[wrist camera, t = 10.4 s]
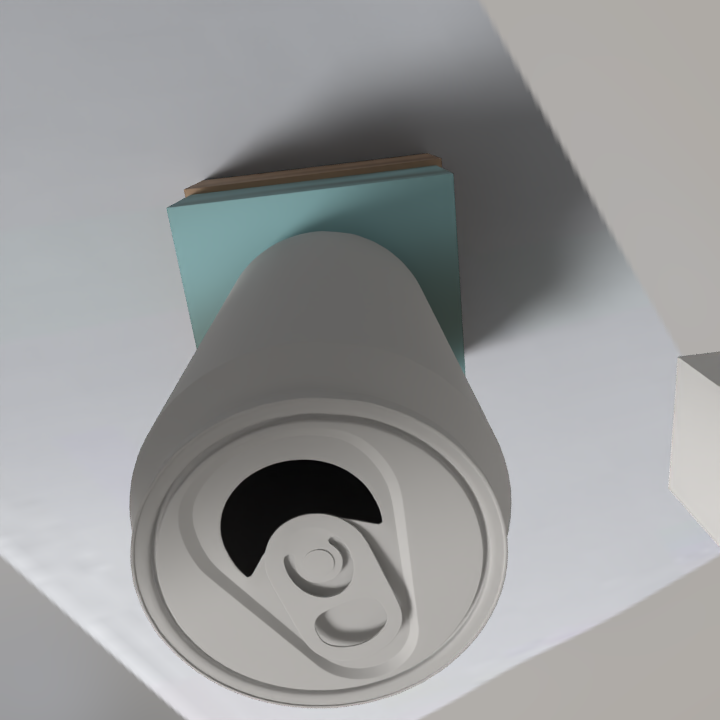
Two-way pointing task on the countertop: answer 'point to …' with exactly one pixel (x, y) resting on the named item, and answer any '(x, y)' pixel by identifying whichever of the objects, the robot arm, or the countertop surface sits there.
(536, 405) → the countertop surface
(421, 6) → the countertop surface
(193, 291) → the teal and brown block
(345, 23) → the countertop surface
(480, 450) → the beverage can
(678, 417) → the robot arm
